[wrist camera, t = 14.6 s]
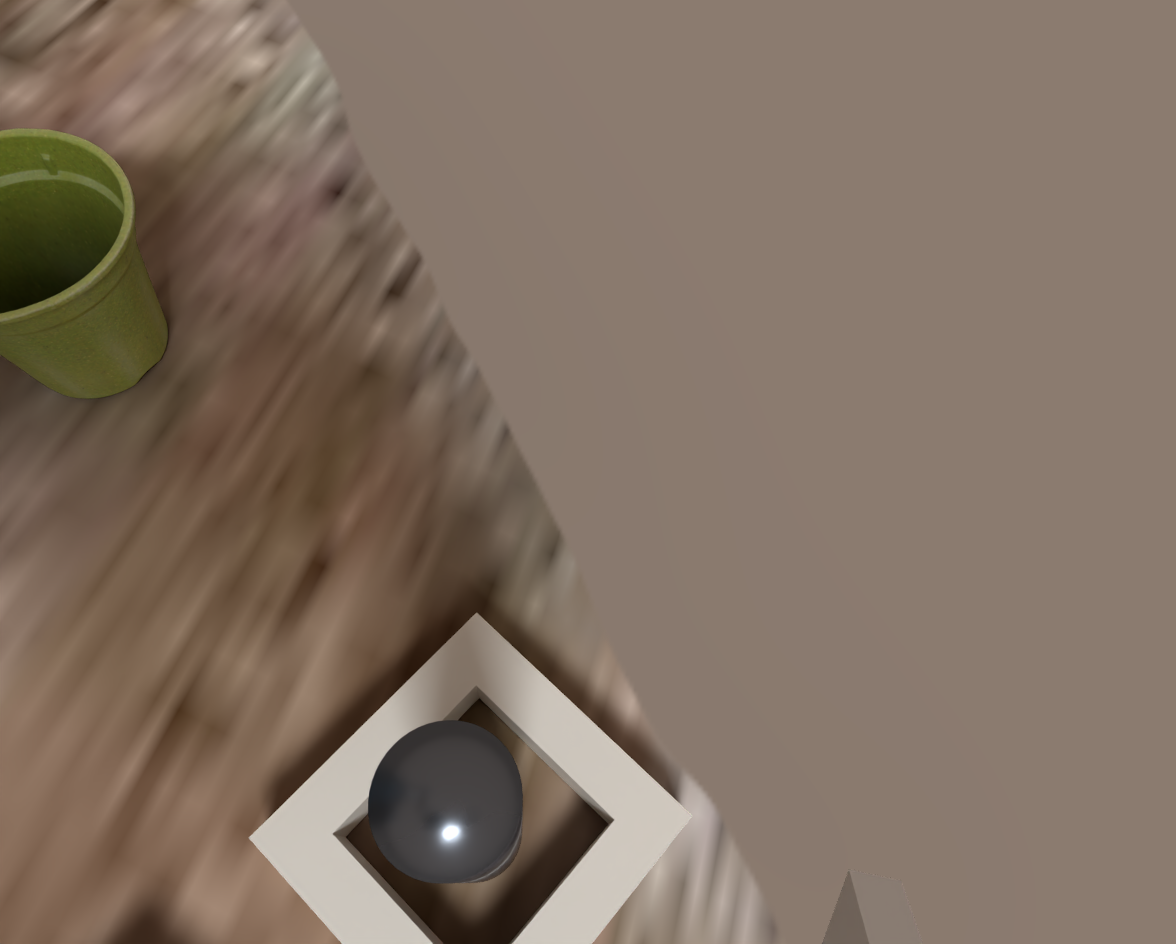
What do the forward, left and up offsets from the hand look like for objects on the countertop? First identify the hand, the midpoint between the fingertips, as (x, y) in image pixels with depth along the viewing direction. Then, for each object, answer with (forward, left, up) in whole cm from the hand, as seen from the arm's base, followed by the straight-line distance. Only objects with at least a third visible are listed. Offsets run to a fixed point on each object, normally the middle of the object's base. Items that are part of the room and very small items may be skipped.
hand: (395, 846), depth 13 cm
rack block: (-1, +1, -21) cm, 22 cm away
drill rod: (-1, +1, -21) cm, 22 cm away
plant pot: (-29, +4, -22) cm, 36 cm away
